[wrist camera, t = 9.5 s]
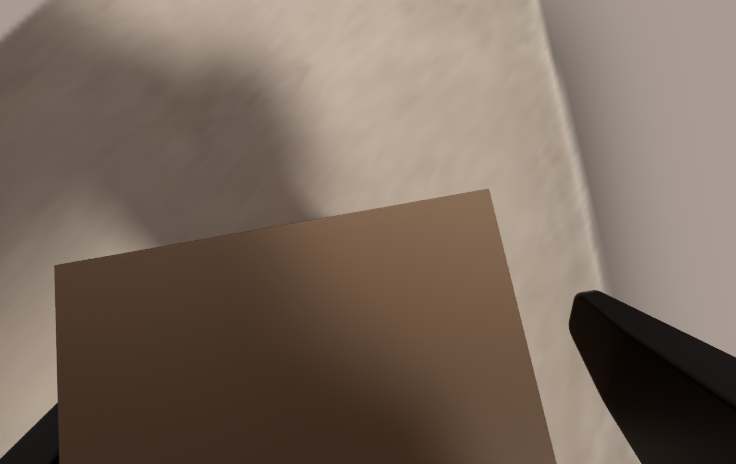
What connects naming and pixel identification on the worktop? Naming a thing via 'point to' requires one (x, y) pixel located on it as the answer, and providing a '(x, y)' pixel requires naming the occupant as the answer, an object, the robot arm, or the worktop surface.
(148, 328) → the walnut block
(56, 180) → the worktop surface
